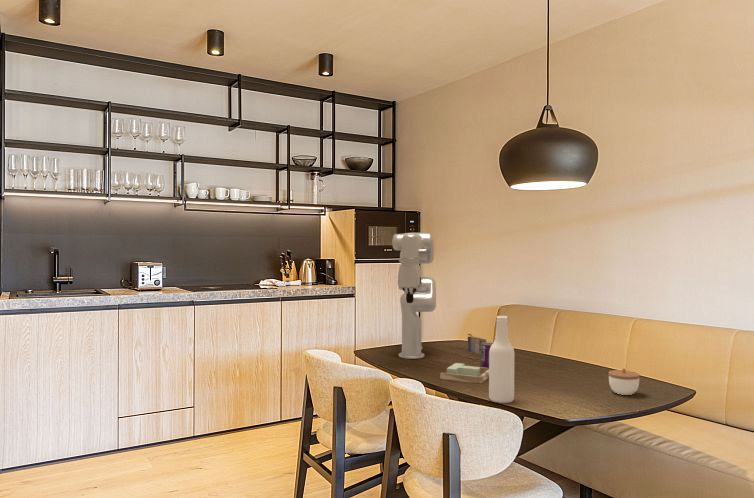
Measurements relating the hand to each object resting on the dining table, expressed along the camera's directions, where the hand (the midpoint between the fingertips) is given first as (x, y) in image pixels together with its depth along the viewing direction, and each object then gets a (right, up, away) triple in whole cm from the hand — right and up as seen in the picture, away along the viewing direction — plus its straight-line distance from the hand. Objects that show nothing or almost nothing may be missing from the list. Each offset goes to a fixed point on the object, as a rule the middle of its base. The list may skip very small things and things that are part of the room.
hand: (409, 302), depth 258 cm
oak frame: (+22, -29, -17) cm, 41 cm away
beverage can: (+34, -30, -7) cm, 45 cm away
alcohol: (+30, -30, -53) cm, 67 cm away
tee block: (+22, -29, -17) cm, 41 cm away
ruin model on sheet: (+36, -29, +35) cm, 58 cm away
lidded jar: (+77, -30, -44) cm, 94 cm away
